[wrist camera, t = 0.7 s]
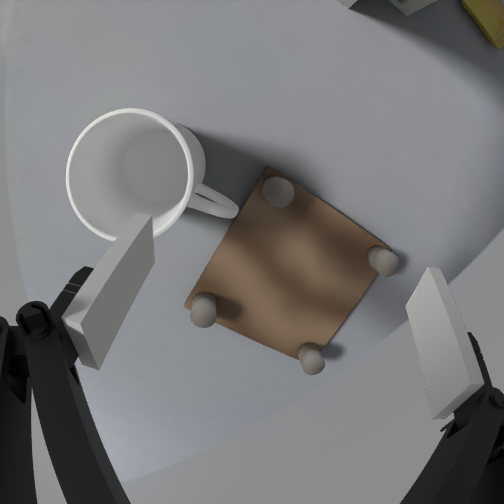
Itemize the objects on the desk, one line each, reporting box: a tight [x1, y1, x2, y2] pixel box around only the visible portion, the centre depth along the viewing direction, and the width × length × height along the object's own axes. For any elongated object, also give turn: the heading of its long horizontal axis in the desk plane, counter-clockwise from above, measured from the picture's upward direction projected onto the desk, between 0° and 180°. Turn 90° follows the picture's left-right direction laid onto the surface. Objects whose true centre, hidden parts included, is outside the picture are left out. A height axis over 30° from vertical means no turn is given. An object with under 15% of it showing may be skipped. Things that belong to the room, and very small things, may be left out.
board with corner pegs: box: [184, 166, 399, 375], centre depth 31 cm, size 16×16×4 cm
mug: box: [66, 108, 239, 241], centre depth 23 cm, size 12×8×12 cm
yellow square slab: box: [461, 0, 504, 49], centre depth 25 cm, size 9×9×2 cm
